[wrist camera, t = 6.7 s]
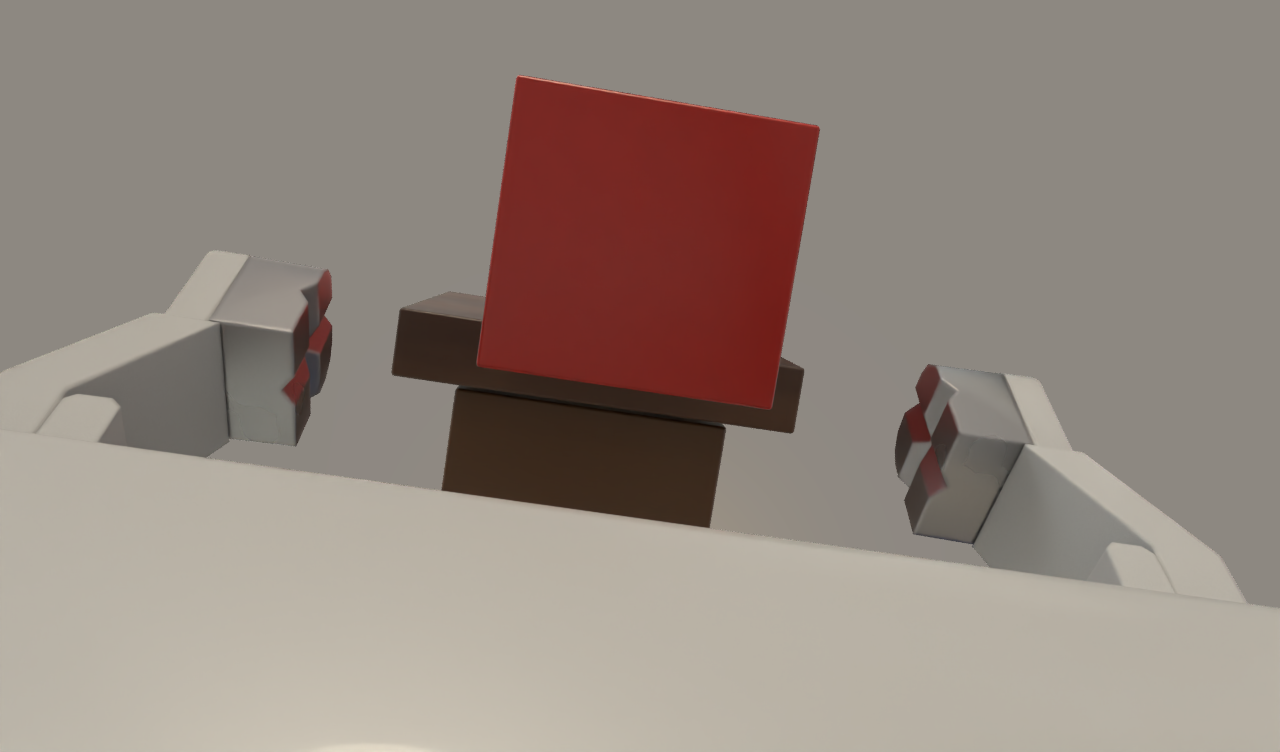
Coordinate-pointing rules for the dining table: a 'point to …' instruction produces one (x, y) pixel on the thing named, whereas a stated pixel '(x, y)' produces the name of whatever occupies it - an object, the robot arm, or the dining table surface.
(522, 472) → the stand
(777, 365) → the red rectangular block
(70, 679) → the robot arm
